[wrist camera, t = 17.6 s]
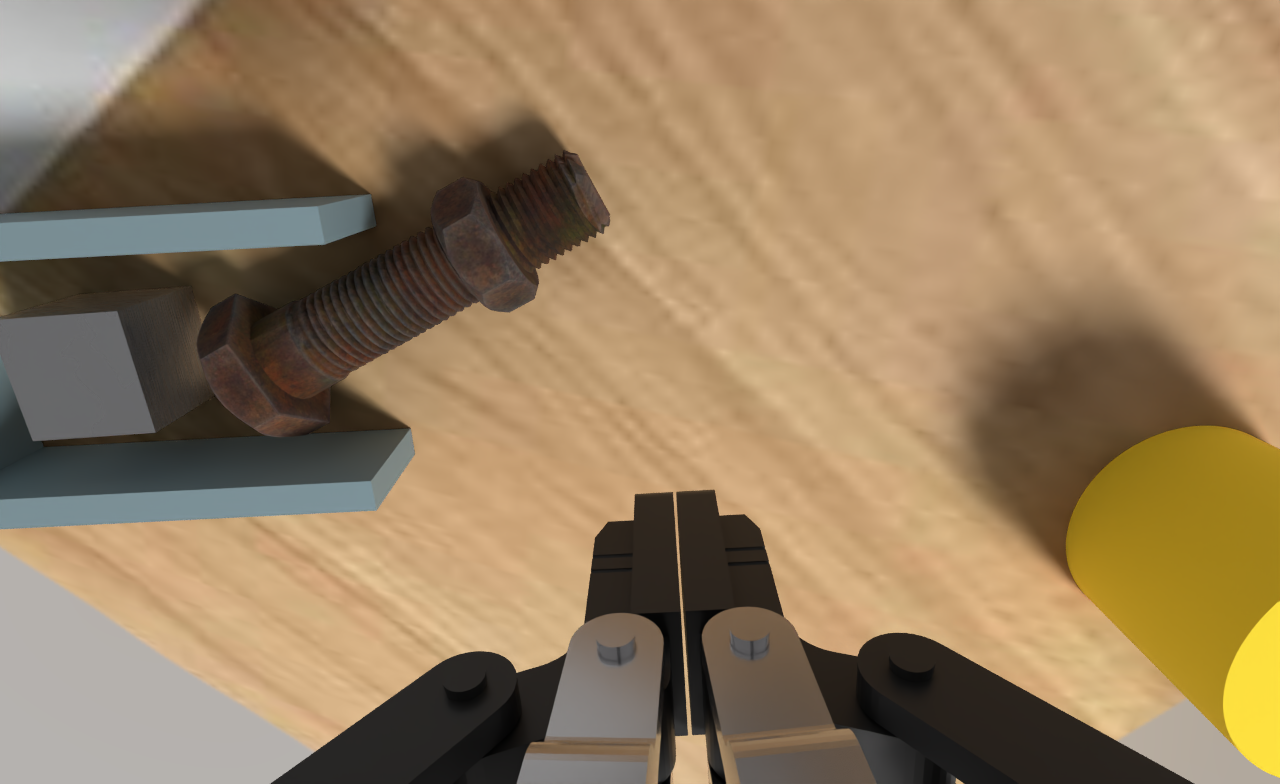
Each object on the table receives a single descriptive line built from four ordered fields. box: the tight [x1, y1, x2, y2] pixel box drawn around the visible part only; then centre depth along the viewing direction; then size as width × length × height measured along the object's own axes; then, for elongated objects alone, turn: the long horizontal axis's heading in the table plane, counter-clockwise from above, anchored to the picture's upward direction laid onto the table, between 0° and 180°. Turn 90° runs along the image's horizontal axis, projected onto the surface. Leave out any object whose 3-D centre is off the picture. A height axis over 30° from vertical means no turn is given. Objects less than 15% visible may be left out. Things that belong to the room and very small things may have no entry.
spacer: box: [0, 286, 215, 441], centre depth 28 cm, size 4×4×4 cm
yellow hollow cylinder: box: [1066, 426, 1280, 778], centre depth 29 cm, size 10×10×9 cm
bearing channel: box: [0, 194, 415, 529], centre depth 27 cm, size 11×17×5 cm, turn 93°
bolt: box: [196, 150, 610, 437], centre depth 27 cm, size 6×5×15 cm
